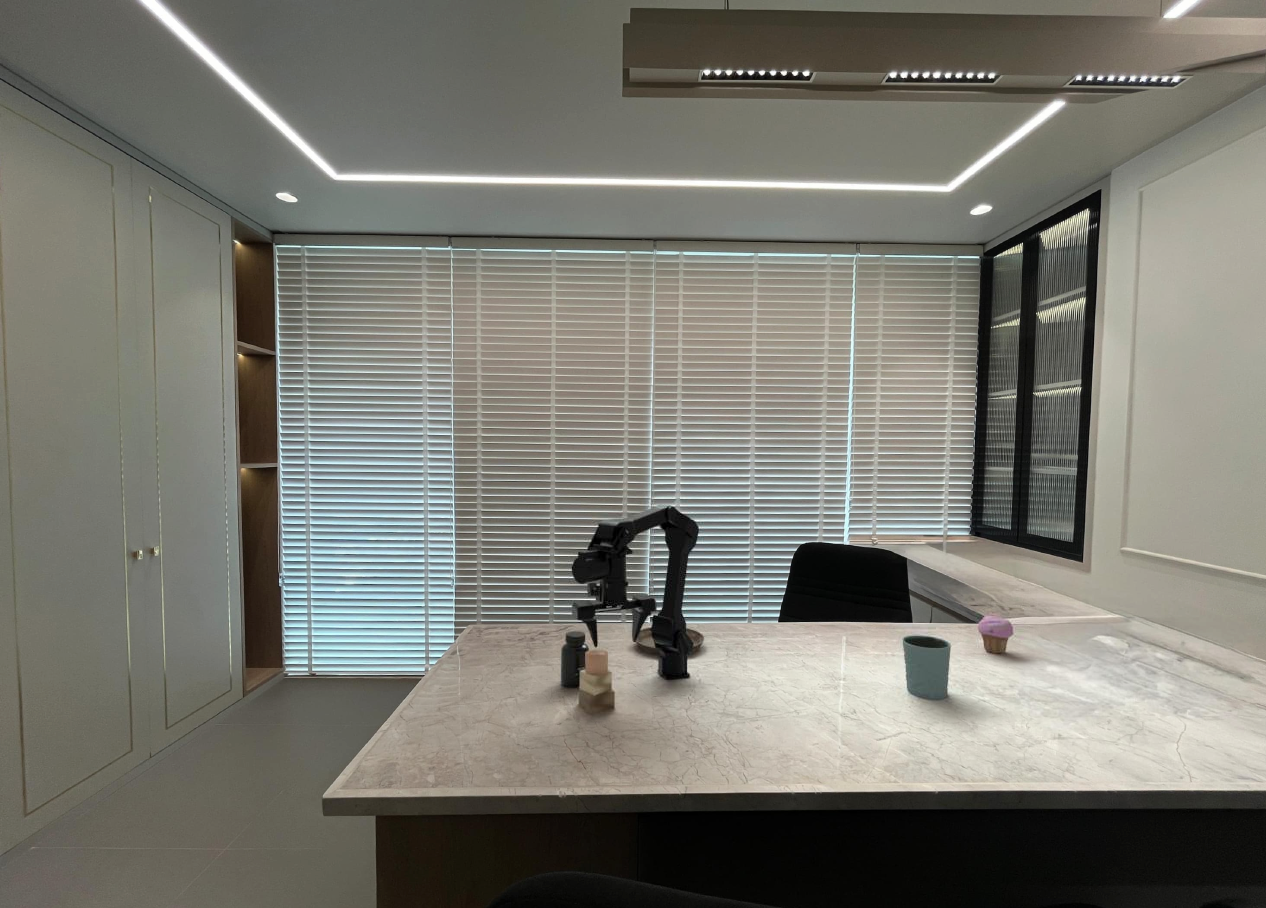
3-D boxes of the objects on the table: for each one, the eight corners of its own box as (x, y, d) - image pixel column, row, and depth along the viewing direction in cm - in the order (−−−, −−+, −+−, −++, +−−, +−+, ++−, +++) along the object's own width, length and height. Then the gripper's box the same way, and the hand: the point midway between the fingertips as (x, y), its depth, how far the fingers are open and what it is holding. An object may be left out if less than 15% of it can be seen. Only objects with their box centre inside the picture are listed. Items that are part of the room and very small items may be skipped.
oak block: (596, 683, 134) (597, 665, 134) (611, 689, 130) (611, 671, 130) (579, 688, 130) (579, 670, 130) (594, 695, 127) (594, 676, 127)
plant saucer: (708, 659, 162) (708, 647, 162) (633, 658, 162) (633, 646, 162) (700, 636, 182) (700, 626, 182) (633, 636, 183) (633, 625, 183)
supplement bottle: (584, 689, 140) (584, 638, 140) (556, 687, 141) (557, 636, 141) (592, 678, 146) (592, 630, 147) (565, 676, 148) (566, 628, 148)
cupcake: (979, 644, 175) (979, 610, 175) (1014, 650, 170) (1014, 615, 170) (976, 652, 167) (976, 617, 168) (1012, 658, 162) (1012, 622, 162)
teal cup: (956, 692, 139) (956, 641, 139) (943, 705, 131) (943, 651, 131) (910, 681, 146) (910, 632, 146) (896, 692, 138) (896, 641, 138)
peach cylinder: (604, 666, 133) (604, 648, 133) (610, 673, 128) (610, 655, 129) (582, 668, 132) (583, 650, 132) (588, 676, 127) (588, 657, 127)
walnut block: (603, 699, 134) (603, 682, 134) (614, 709, 129) (614, 691, 129) (578, 704, 132) (578, 686, 132) (589, 714, 126) (589, 696, 126)
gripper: (639, 565, 145) (640, 629, 145) (565, 572, 138) (566, 638, 139) (657, 574, 135) (658, 642, 135) (577, 582, 128) (578, 654, 128)
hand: (615, 644), depth 134 cm, fingers open, 9 cm apart
